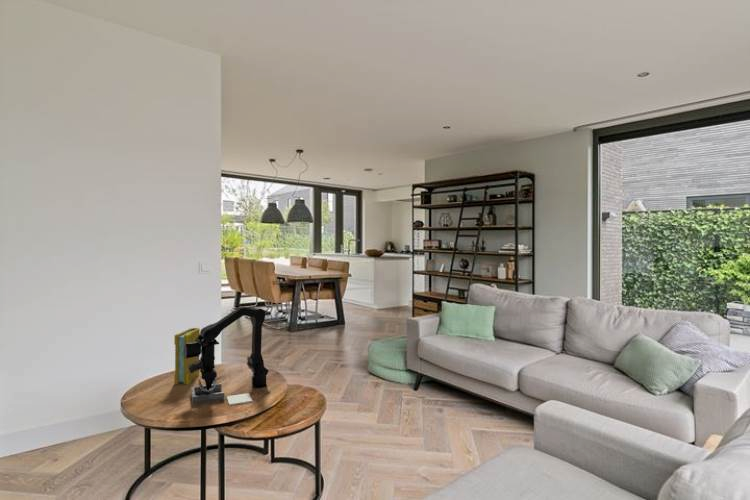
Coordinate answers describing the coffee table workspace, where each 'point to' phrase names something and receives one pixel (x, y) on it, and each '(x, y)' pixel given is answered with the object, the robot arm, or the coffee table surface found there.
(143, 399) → the coffee table surface
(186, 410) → the coffee table surface
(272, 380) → the coffee table surface
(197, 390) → the grey u-shaped piece
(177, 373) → the book
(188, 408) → the coffee table surface
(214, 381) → the watch
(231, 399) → the pad
